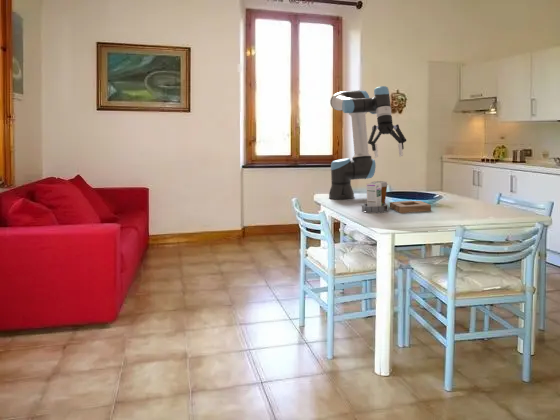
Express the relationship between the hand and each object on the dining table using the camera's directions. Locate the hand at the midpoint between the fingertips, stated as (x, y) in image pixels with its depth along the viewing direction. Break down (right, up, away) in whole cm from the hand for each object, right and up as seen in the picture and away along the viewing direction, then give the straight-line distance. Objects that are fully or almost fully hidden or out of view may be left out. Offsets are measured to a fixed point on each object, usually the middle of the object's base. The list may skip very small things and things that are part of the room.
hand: (388, 156), depth 263 cm
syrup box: (-6, -28, +4) cm, 29 cm away
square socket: (+11, -27, +3) cm, 29 cm away
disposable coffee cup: (0, -24, +23) cm, 34 cm away
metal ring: (-7, -28, +4) cm, 29 cm away
